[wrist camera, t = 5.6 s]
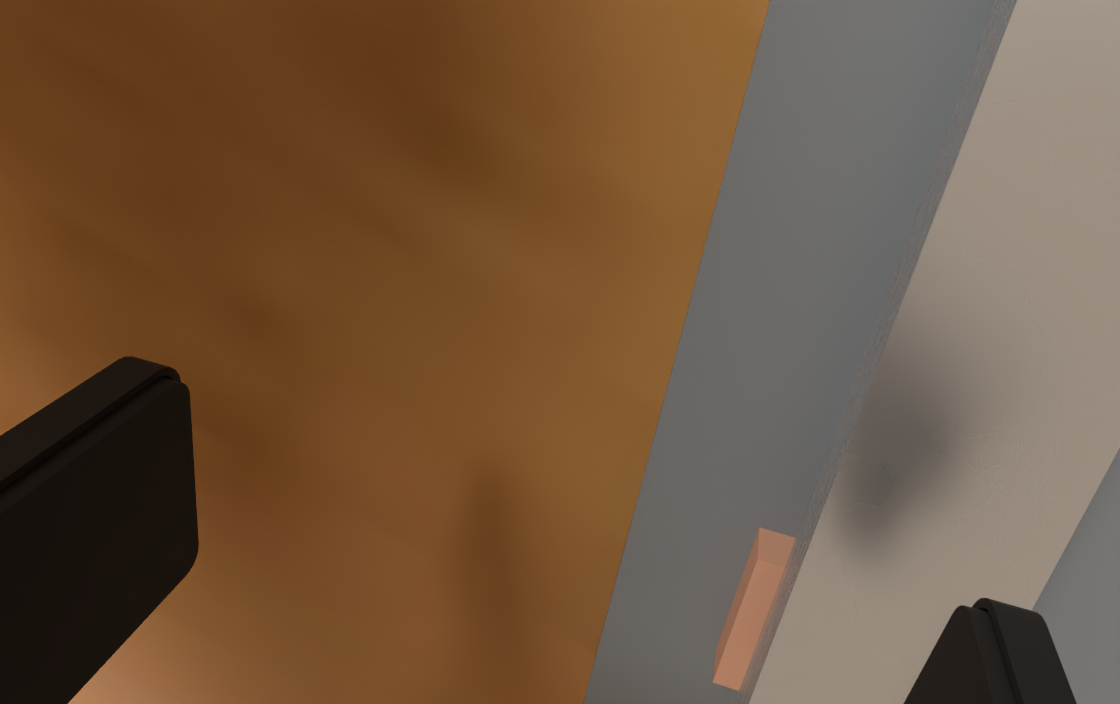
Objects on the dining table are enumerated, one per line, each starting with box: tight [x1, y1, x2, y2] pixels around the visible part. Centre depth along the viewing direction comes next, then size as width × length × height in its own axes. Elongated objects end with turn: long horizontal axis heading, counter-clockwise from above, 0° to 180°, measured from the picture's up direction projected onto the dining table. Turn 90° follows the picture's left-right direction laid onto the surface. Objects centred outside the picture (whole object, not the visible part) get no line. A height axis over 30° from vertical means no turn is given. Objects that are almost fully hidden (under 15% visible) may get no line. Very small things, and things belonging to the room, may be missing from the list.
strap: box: [734, 0, 1120, 704], centre depth 10 cm, size 17×3×2 cm, turn 170°
